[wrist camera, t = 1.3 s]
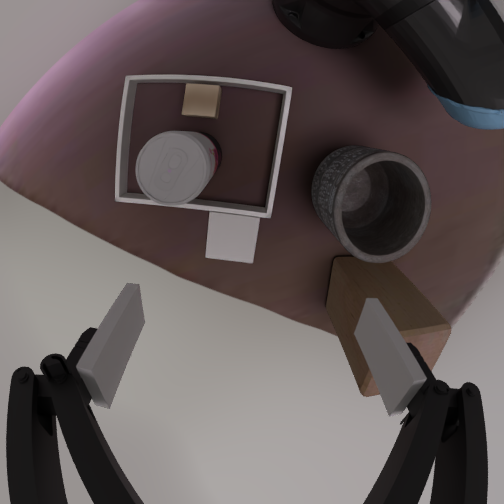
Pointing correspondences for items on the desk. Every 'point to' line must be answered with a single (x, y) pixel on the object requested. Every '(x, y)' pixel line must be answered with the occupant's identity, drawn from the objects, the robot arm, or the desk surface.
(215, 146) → the beverage can
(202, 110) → the beech block
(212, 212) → the pad
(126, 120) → the bin
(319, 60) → the desk surface
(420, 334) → the wooden block
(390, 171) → the planter
